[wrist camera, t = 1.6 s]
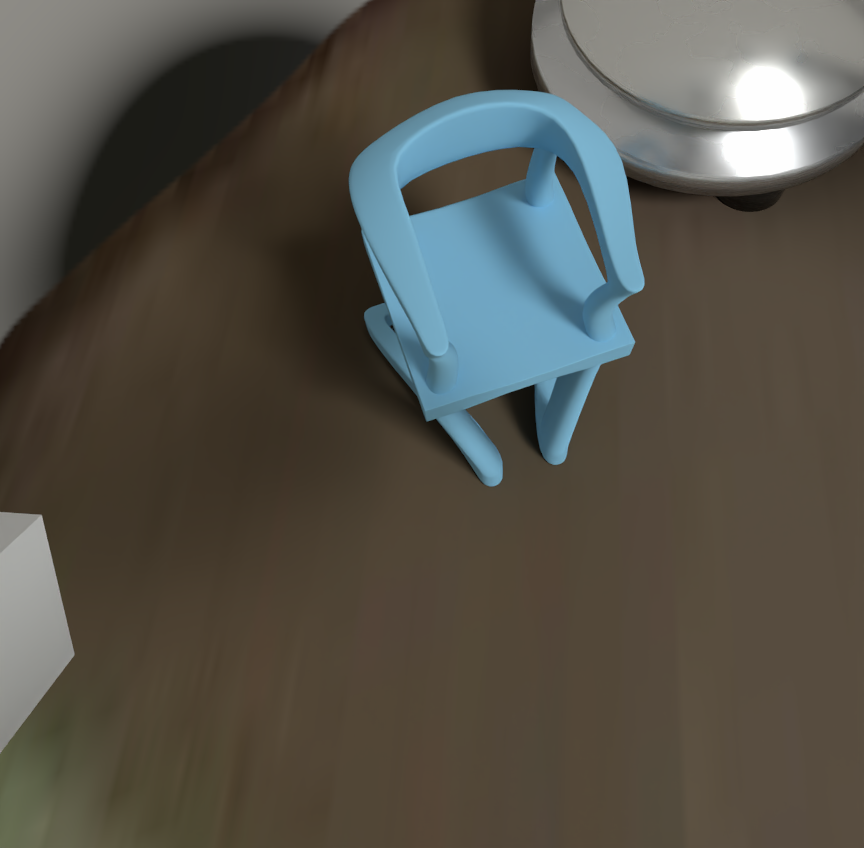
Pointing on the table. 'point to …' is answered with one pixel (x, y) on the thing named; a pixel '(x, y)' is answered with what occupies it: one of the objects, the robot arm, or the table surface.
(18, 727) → the robot arm
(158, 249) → the table surface
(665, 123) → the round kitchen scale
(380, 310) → the chair
